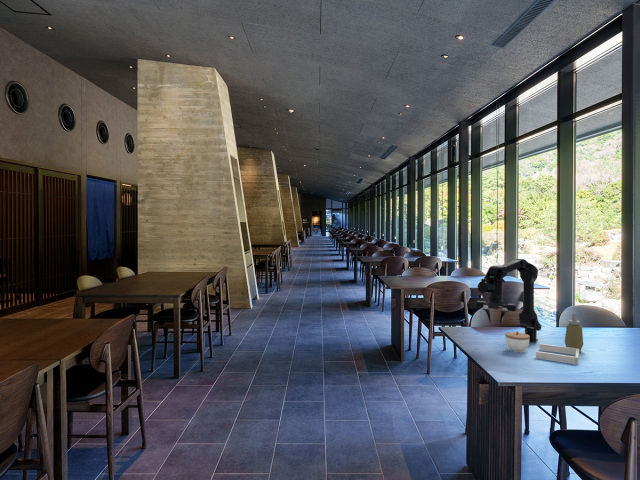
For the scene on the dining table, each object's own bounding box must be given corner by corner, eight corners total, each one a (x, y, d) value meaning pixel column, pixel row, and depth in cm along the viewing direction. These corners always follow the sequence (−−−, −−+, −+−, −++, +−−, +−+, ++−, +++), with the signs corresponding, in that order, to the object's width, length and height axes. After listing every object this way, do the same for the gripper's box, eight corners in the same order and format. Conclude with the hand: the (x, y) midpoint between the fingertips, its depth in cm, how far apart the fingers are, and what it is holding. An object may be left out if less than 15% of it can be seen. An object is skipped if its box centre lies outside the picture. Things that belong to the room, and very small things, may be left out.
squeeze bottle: (581, 348, 213) (582, 312, 213) (585, 353, 206) (586, 315, 205) (562, 347, 216) (563, 311, 215) (566, 351, 208) (567, 314, 208)
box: (539, 349, 211) (539, 343, 211) (579, 355, 202) (579, 348, 202) (535, 358, 197) (535, 351, 197) (577, 364, 188) (577, 357, 188)
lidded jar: (527, 355, 201) (528, 335, 201) (503, 351, 207) (503, 332, 207) (530, 349, 210) (531, 330, 210) (506, 346, 216) (507, 327, 216)
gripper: (472, 292, 212) (472, 323, 212) (514, 295, 202) (513, 328, 202) (478, 289, 221) (477, 319, 221) (517, 292, 211) (517, 324, 211)
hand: (495, 323), depth 214 cm, fingers open, 4 cm apart
